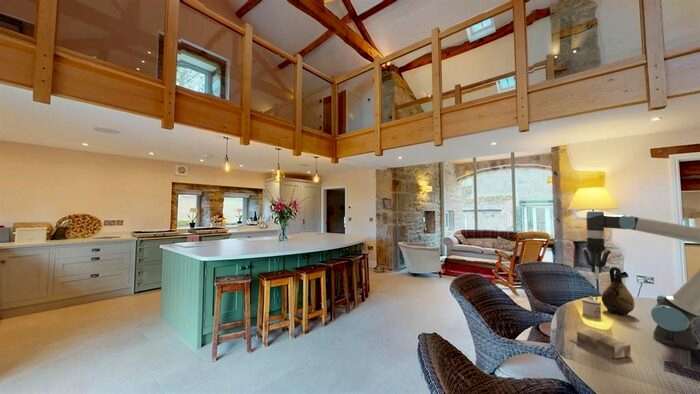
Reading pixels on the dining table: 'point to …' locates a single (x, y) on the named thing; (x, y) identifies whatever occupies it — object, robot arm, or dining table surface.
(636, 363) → the dining table surface
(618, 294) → the ceramic jug
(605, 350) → the walnut slab
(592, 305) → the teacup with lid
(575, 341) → the slate mat
